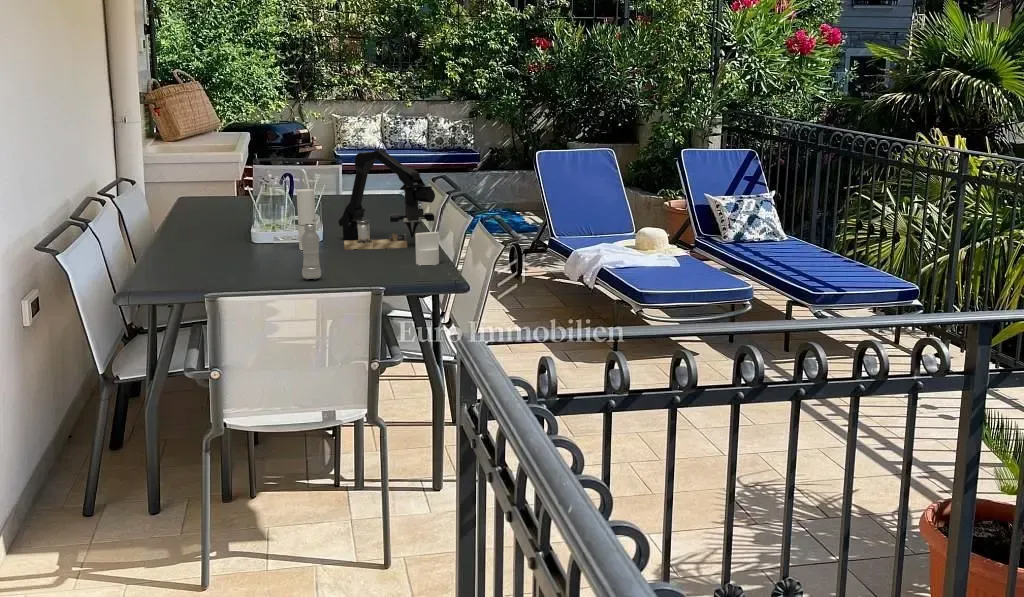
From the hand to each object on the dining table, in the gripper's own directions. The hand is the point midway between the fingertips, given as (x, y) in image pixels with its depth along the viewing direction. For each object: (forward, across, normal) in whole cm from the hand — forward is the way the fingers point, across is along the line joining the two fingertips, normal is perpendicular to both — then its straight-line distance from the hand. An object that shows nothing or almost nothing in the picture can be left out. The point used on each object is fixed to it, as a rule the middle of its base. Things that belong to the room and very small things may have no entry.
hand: (412, 237), depth 430 cm
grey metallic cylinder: (+4, -20, 0) cm, 21 cm away
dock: (+4, -16, 0) cm, 16 cm away
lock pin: (+1, -6, 0) cm, 6 cm away
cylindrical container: (+4, -44, -1) cm, 44 cm away
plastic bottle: (+4, -42, -61) cm, 74 cm away
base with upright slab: (+4, +2, -39) cm, 40 cm away
